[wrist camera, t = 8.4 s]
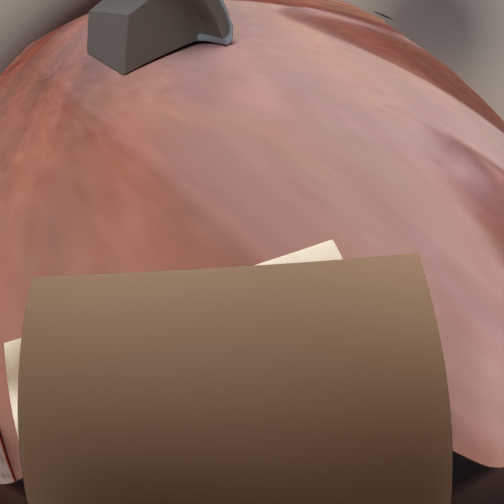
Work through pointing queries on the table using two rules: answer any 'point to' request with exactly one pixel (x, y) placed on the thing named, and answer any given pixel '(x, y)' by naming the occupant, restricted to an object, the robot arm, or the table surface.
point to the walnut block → (236, 386)
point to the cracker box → (5, 467)
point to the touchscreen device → (152, 29)
